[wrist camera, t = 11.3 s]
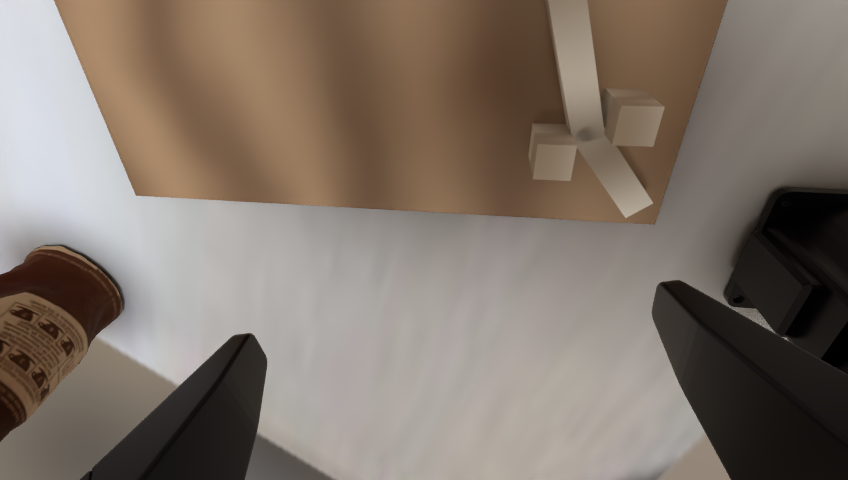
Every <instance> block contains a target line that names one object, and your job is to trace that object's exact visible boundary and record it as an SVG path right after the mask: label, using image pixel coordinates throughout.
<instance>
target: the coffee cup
mask: <svg viewBox="0 0 848 480" xmlns="http://www.w3.org/2000/svg"><path fill="white" fill-rule="evenodd" d="M121 311H122V301H121V298H120V295H119V292H118V290H117V288H116V287H115V285H114V284H113V283H112V282H111V280H110V279H109V278H108V277H107V276H106V275H105V274H104V273H103V272H102V271H101V270H100V269H99V268H98V267H96V266H95V265H94V264H92V263H91V262H89V261H88V260H87V259H85V258H84V257H83V256H81V255H79V254H76V253H74V252H72V251H70V250H68V249H66V248H64V247H62V246H41V248H36V249H35V250H34V251H32V252H31V253H30V254H29V255H28V256H27V257H26V259H25V261H24V263H23V264H21V265H19V266H16V267H15V268H14V269H12V270H11V271H9V272H7V273H4V274H0V441H1V440H2V439H3V438H4V437H5V436H6V435H8V433H9V432H10V431H11V430H13V429H14V428H16V427H18V426H19V425H21V424H22V423H23V422H25V421H26V420H27V419H28V418H29V417H30V416H31V415H32V414H33V413H34V412H35V411H36V410H37V408H38V407H39V406H40V405H41V404H42V403H43V402H44V401H45V400H46V398H47V397H48V396H49V395H50V394H51V393H52V392H53V391H54V390H55V388H56V387H57V386H58V384H59V383H60V382H61V381H62V380H63V379H64V378H65V377H66V376H67V375H68V374H69V373H70V372H71V371H72V370H73V369H74V368H75V367H76V366H77V365H78V364H79V363H80V361H81V360H82V358H83V357H84V356H85V355H86V353H87V351H88V348H89V346H90V343H91V341H92V340H93V339H94V338H95V336H96V335H97V334H98V333H99V332H100V331H101V330H102V329H104V328H105V327H107V326H108V325H109V324H110V323H111V322H112V321H113V320H115V319H116V318H117V317H118V316H119V315H120V313H121Z"/></svg>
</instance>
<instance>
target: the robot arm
mask: <svg viewBox="0 0 848 480" xmlns="http://www.w3.org/2000/svg"><path fill="white" fill-rule="evenodd" d="M786 197H789V199H788V200H787V201H786V202H784V203H781V202H782V200H783V199H785V198H786ZM736 296H739V297H737V298H735V297H736ZM724 298H725V300H726V301H727V303H728V304H729V305H731V306H733V307H742V308H756V309H757V310H758V311H759V312H760V314H761V315H762V316H763V317H764V319H765V320H766V321H767V323H768V324H769V325H770V327H771V328H772V329H773V330H774V332H775V333H776V334H775V333H773V332H771V331H769V330H768V329H766V328H764V327H762V326H761V325H759V324H757V323H755V322H753V321H752V320H750V319H748V318H746V317H745V316H743V315H741V314H739V313H738V312H736V311H734V310H732V309H730V308H729V307H727V306H725V305H723V304H722V303H720V302H718V301H716V300H715V299H713V298H711V297H709V296H707V295H706V294H704V293H702V292H700V291H699V290H697V289H695V288H693V287H692V286H690V285H688V284H686V283H684V282H682V281H680V280H674V281H666V282H661V283H659V284H658V285H657V288H656V293H655V297H654V302H653V307H652V317H653V320H654V323H655V325H656V328H657V330H658V333H659V335H660V338H661V340H662V343H663V345H664V348H665V350H666V353H667V355H668V358H669V360H670V363H671V365H672V367H673V370H674V372H675V375H676V377H677V379H678V382H679V384H680V386H681V388H682V390H683V392H684V394H685V396H686V398H687V400H688V401H689V403H690V405H691V407H692V409H693V411H694V412H695V414H696V416H697V418H698V420H699V422H700V423H701V425H702V427H703V429H704V431H705V433H706V435H707V436H708V438H709V440H710V442H711V444H712V446H713V447H714V449H715V451H716V453H717V455H718V456H719V458H720V460H721V462H722V464H723V466H724V468H725V469H726V471H727V473H728V475H729V477H730V479H731V480H848V190H834V189H812V188H789V187H788V188H782V189H779V190H777V191H776V192H774V193H773V194H772V196H771V197H770V199H769V201H768V203H767V206H766V208H765V210H764V212H763V214H762V216H761V218H760V220H759V222H758V224H757V227H756V229H755V231H754V232H753V233H752V234H751V236H750V238H749V240H748V242H747V244H746V246H745V248H744V251H743V253H742V255H741V257H740V259H739V261H738V263H737V265H736V267H735V270H734V272H733V274H732V279H731V281H730V283H729V285H728V287H727V289H726V292H725V294H724ZM782 337H786V338H787V339H788V340H789V341H790V342H789V341H787V340H785V339H784V338H782ZM266 370H267V358H266V355H265V353H264V352H263V350H262V348H261V346H260V345H259V343H258V341H257V339H256V338H255V336H254V335H253V334H251V333H246V334H238V335H234V336H232V337H231V338H230V339H229V340H228V341H227V342H226V343H225V344H223V345H222V346H221V347H220V348H219V349H218V350H217V351H216V352H215V353H214V354H213V355H212V356H211V357H210V358H209V359H208V360H206V361H205V362H204V363H203V364H202V365H201V366H200V367H199V368H198V369H197V370H196V371H195V372H194V373H193V374H192V375H191V376H189V377H188V378H187V379H186V380H185V381H184V382H183V383H182V384H181V385H180V386H179V387H178V388H177V389H176V390H175V391H174V392H172V393H171V394H170V395H169V396H168V397H167V398H166V399H165V400H164V401H163V402H162V403H161V404H160V405H159V406H158V407H157V408H155V409H154V410H153V411H152V412H151V413H150V414H149V415H148V416H147V417H146V418H145V419H144V420H143V421H142V422H141V423H140V424H139V425H138V426H136V427H135V428H134V429H133V430H132V431H131V432H130V433H129V434H128V435H127V436H126V437H125V438H124V439H123V440H122V441H120V442H119V443H118V444H117V445H116V446H115V447H114V448H113V449H112V450H111V451H110V452H109V453H108V454H107V455H106V456H104V457H103V458H102V459H101V460H100V461H99V462H98V463H97V464H96V465H95V466H94V467H93V469H92V471H89V472H87V473H86V474H85V475H84V476H83V477H82V478H81V479H80V480H245V476H246V472H247V468H248V464H249V461H250V457H251V453H252V449H253V445H254V442H255V437H256V433H257V429H258V423H259V417H260V411H261V404H262V397H263V390H264V384H265V377H266Z"/></svg>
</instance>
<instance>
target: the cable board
mask: <svg viewBox="0 0 848 480" xmlns="http://www.w3.org/2000/svg"><path fill="white" fill-rule="evenodd" d="M54 1H55V4H56V6H57V9H58V11H59V13H60V16H61V18H62V20H63V23H64V25H65V28H66V30H67V32H68V35H69V37H70V40H71V42H72V44H73V47H74V49H75V51H76V54H77V56H78V59H79V61H80V63H81V66H82V68H83V70H84V73H85V75H86V78H87V80H88V82H89V85H90V87H91V90H92V92H93V94H94V97H95V99H96V101H97V104H98V106H99V109H100V111H101V113H102V116H103V118H104V120H105V123H106V125H107V128H108V130H109V132H110V135H111V137H112V140H113V142H114V144H115V147H116V149H117V151H118V154H119V156H120V159H121V161H122V163H123V166H124V168H125V170H126V173H127V175H128V178H129V180H130V182H131V185H132V187H133V189H134V192H135V194H136V196H154V197H172V198H190V199H208V200H226V201H244V202H262V203H280V204H298V205H316V206H334V207H352V208H370V209H388V210H405V211H423V212H441V213H459V214H477V215H495V216H513V217H531V218H549V219H567V220H585V221H603V222H621V223H639V224H655V222H656V219H657V216H658V213H659V210H660V207H661V204H662V200H663V197H664V194H665V191H666V188H667V185H668V182H669V179H670V176H671V173H672V170H673V167H674V164H675V161H676V157H677V154H678V151H679V148H680V145H681V142H682V139H683V136H684V133H685V130H686V127H687V124H688V121H689V118H690V114H691V111H692V108H693V105H694V102H695V99H696V96H697V93H698V90H699V87H700V84H701V81H702V78H703V74H704V71H705V68H706V65H707V62H708V59H709V56H710V53H711V50H712V47H713V44H714V41H715V38H716V35H717V31H718V28H719V25H720V22H721V19H722V16H723V13H724V10H725V7H726V4H727V1H728V0H54Z"/></svg>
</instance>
